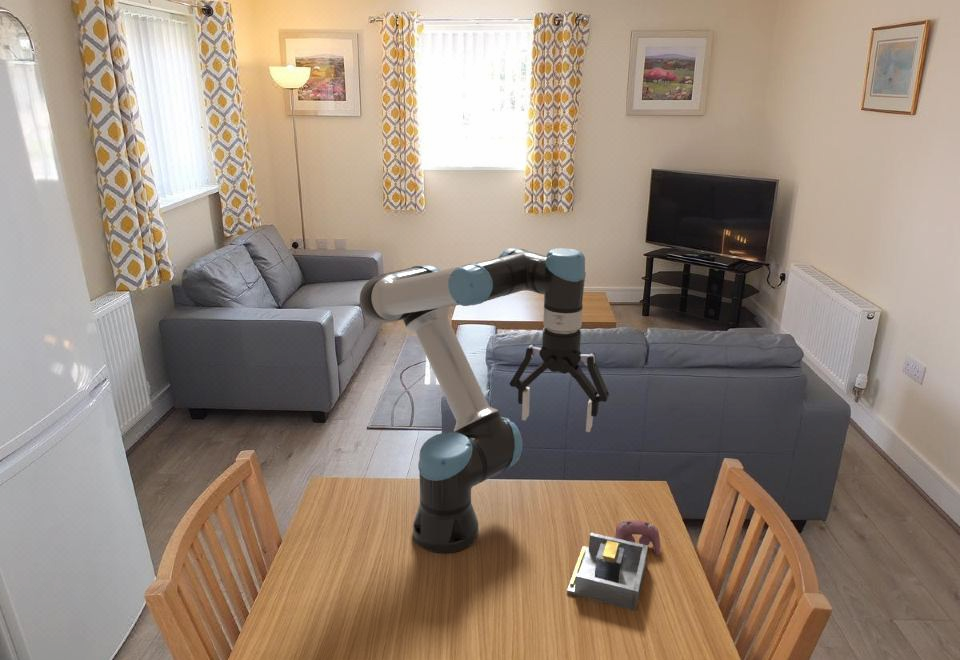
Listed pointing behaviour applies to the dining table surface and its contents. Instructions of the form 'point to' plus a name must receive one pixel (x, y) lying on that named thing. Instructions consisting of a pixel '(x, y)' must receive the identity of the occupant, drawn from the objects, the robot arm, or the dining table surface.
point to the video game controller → (639, 533)
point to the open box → (603, 589)
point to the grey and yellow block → (609, 562)
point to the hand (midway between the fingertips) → (556, 423)
